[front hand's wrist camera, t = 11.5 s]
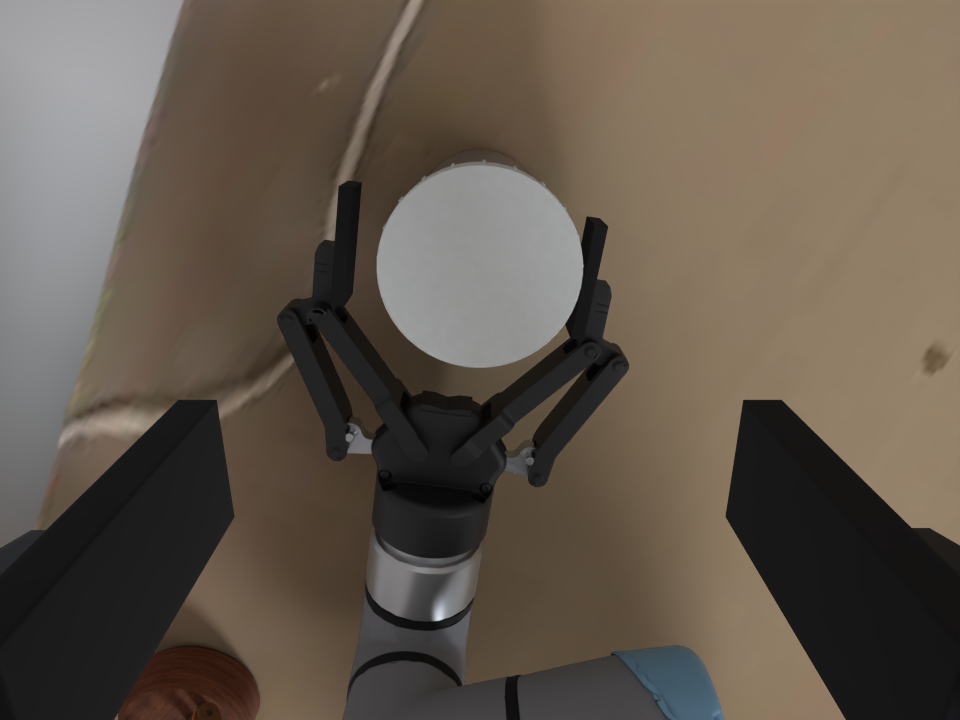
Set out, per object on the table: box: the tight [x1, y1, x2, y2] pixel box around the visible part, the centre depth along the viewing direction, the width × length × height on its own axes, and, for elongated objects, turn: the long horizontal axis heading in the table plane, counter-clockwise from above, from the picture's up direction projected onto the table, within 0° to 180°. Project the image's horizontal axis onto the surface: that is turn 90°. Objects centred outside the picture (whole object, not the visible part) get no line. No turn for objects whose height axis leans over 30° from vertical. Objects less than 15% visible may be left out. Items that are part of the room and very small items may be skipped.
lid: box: [376, 160, 584, 368], centre depth 30 cm, size 9×9×2 cm
